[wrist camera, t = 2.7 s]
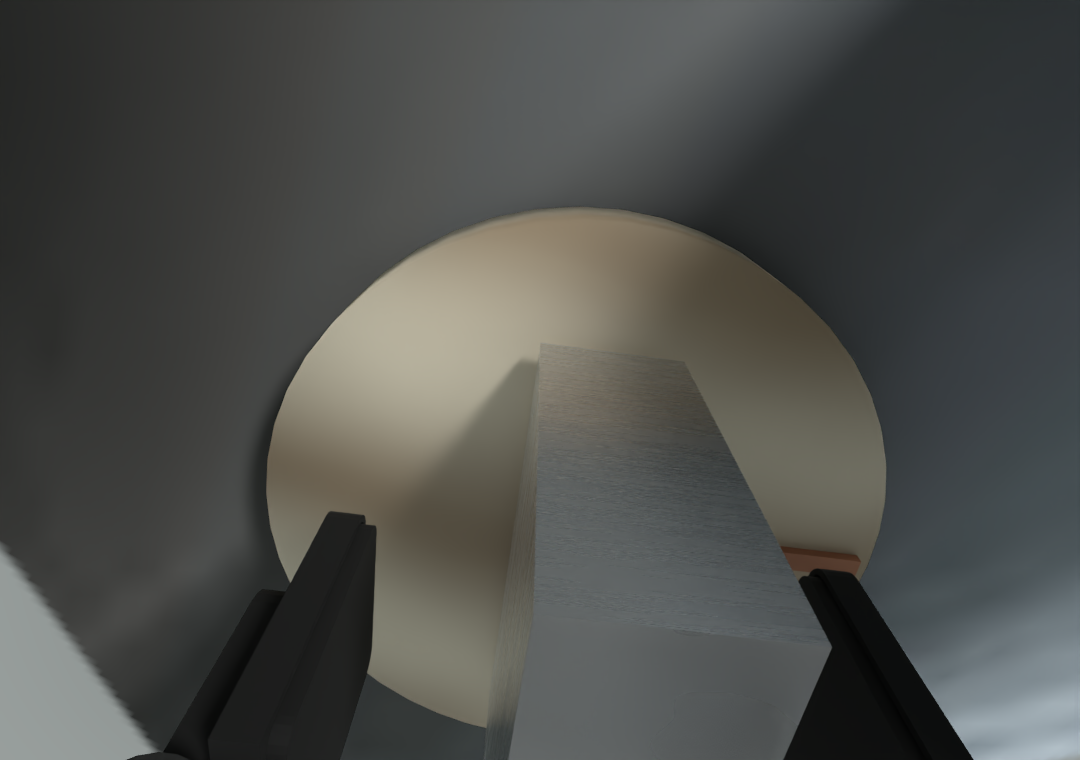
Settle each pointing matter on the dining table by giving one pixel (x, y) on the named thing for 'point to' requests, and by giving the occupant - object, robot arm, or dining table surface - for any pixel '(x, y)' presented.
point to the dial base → (505, 404)
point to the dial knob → (642, 581)
